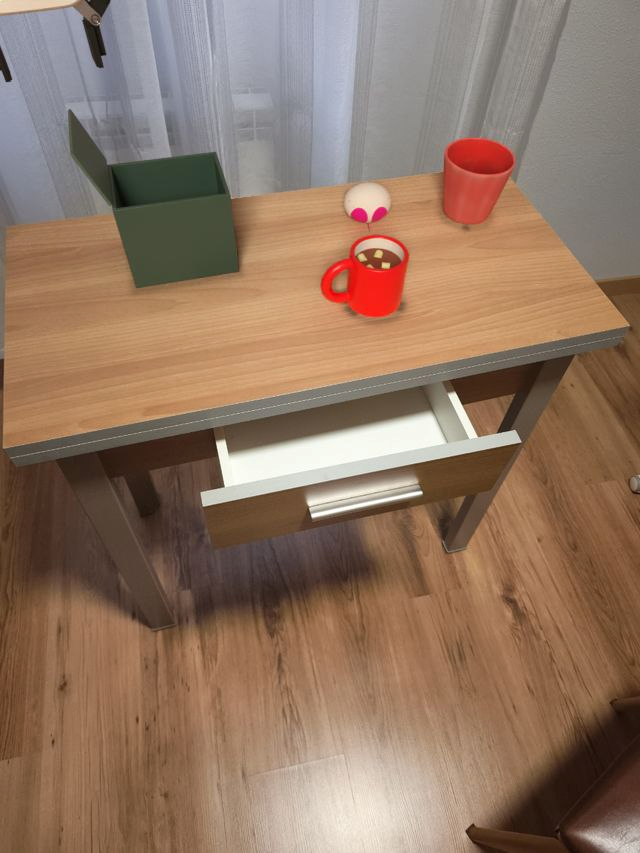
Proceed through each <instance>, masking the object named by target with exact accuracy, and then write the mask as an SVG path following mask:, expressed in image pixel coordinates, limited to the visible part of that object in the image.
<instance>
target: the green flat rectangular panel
mask: <svg viewBox="0 0 640 853" xmlns="http://www.w3.org/2000/svg"><path fill="white" fill-rule="evenodd" d="M67 120H68V121H67V122H68V137H69V138H68V140H69V155H70V157H71V158H72V159H73V161H74V162H75V164H76V165H77V166H78V168H79V169H80V170H81V171H82V173H83V174H84V176H86V178H87V179H88V181H89V182H90V183H91V184H92V186H93V187H94V189H95V190H96V191H97V192H98V194H99V195H100V196H101V197H102V199H103V200H104V202H105V203H106V204H107V206H109V207H112V201H111V193H110V184H109V176H108V168H107V165H108V160H107V158H106V157H105V155H104V154H103V152H102V151H101V149H100V148H99V147H98V146H97V144H96V142H95V141H94V139H93V138H92V137H91V135H90V134H89V133H88V131H87V130H86V128H85V127H84V125H83V124H82V122H80V120H79V118H78V117H77V116H76V115H75V113H74V112H73V109H71V108H69V109H67Z"/></svg>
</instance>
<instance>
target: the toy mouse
mask: <svg viewBox="0 0 640 853" xmlns="http://www.w3.org/2000/svg"><path fill="white" fill-rule="evenodd" d="M391 207H392V197H391V194H390V192H389V191H388V189H387V188H386V187H384V186H383V185H382V184H381V183H377V182H373V181H364V182H360V183H357V184H356V185H353V186H352V187H351V188H350V189H349V190H348V191H347V192H346V193H345V196H344V199H343V208H344V210H345V213H346V214H347V216H348V217H350V218H351V219H352V220H354V221H356V222H359V223H363V224H367V228H368V231H369V232H370V231H371V230H370V223H375V222H377V221H380V220H381V219H383V218H384V217H385V216H387V214H388V213H389V211H390V209H391Z"/></svg>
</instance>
